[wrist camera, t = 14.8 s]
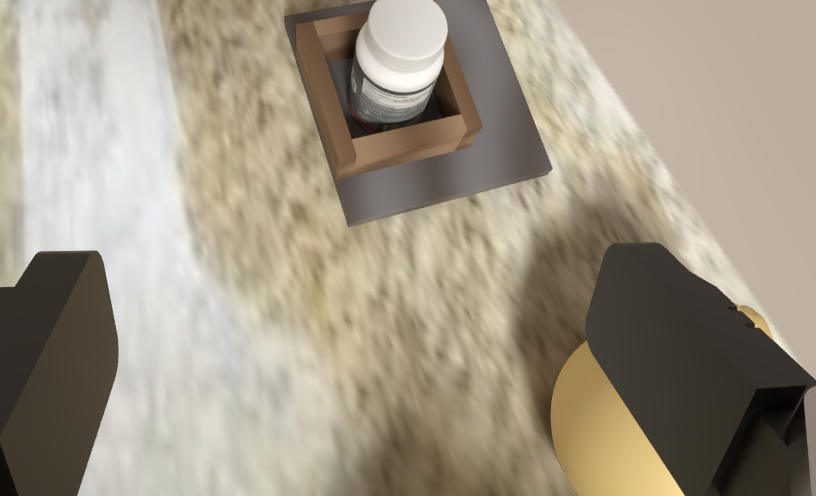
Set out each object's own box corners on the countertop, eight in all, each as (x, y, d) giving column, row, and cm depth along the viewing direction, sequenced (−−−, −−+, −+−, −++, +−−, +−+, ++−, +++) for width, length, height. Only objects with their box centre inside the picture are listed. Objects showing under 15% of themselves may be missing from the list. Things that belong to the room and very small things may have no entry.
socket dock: (348, 227, 37) (354, 205, 33) (284, 26, 40) (283, -16, 36) (546, 174, 40) (572, 149, 36) (475, -9, 43) (492, -50, 39)
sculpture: (743, 499, 37) (915, 531, 26) (558, 553, 34) (669, 611, 24) (684, 311, 39) (819, 273, 29) (508, 348, 37) (588, 321, 26)
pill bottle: (364, 58, 39) (381, -34, 31) (433, 88, 39) (467, 4, 31) (335, 120, 38) (344, 40, 30) (407, 151, 38) (435, 79, 30)
